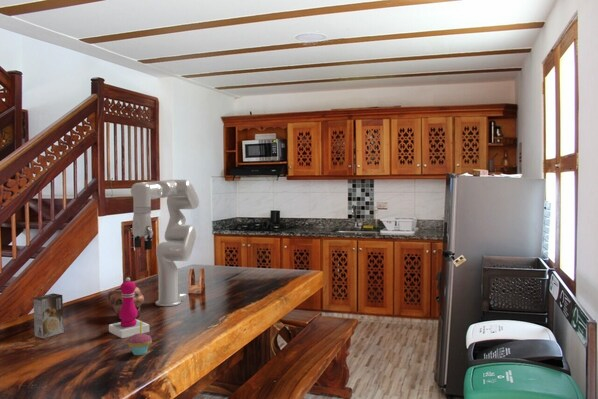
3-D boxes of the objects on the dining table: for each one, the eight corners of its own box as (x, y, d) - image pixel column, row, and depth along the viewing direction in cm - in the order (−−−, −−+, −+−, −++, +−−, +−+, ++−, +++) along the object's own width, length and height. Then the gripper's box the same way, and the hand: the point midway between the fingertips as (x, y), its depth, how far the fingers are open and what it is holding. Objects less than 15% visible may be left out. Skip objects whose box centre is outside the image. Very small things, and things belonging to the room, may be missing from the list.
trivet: (135, 325, 218) (135, 318, 218) (149, 331, 210) (149, 324, 210) (109, 331, 210) (108, 324, 210) (122, 338, 202) (121, 330, 201)
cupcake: (131, 349, 188) (130, 318, 188) (154, 348, 189) (153, 317, 189) (125, 357, 180) (124, 324, 179) (149, 357, 181) (149, 324, 180)
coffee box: (55, 330, 212) (54, 292, 211) (64, 332, 209) (63, 294, 208) (33, 336, 204) (32, 297, 204) (43, 338, 201) (42, 299, 200)
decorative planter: (98, 319, 229) (97, 288, 228) (115, 312, 241) (114, 283, 240) (136, 322, 223) (136, 291, 223) (151, 315, 235) (151, 285, 234)
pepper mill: (131, 328, 205) (131, 279, 204) (115, 327, 206) (115, 278, 205) (141, 323, 212) (140, 276, 211) (125, 321, 213) (124, 275, 212)
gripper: (125, 210, 231) (126, 247, 232) (143, 212, 219) (144, 251, 220) (140, 209, 236) (141, 245, 237) (159, 211, 224) (159, 249, 225)
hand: (142, 248), depth 228 cm, fingers open, 9 cm apart
